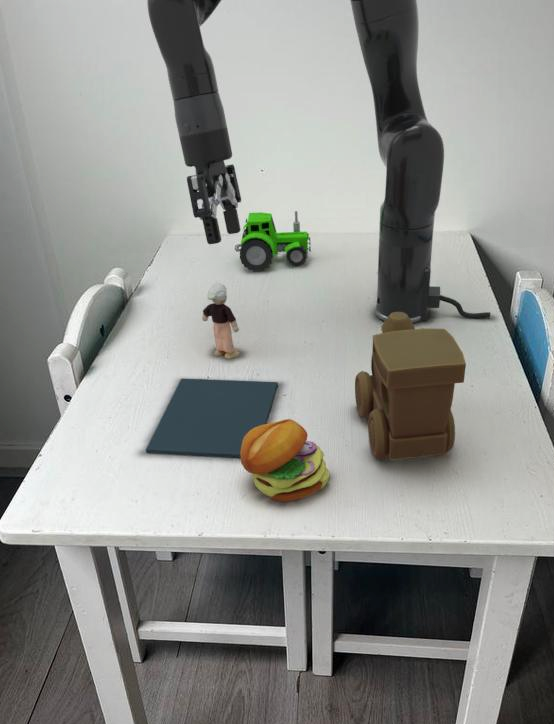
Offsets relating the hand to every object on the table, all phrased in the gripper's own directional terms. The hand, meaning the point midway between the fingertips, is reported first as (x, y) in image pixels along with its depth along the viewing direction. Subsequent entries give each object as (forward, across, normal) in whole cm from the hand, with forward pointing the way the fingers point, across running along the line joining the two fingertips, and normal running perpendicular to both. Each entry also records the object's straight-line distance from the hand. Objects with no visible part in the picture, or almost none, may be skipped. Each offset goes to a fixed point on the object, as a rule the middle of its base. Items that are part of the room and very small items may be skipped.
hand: (224, 238), depth 121 cm
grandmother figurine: (+19, -2, +4) cm, 19 cm away
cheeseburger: (+28, -34, -16) cm, 47 cm away
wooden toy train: (+28, -18, -29) cm, 44 cm away
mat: (+23, -21, -2) cm, 31 cm away
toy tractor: (+12, +38, +7) cm, 41 cm away
